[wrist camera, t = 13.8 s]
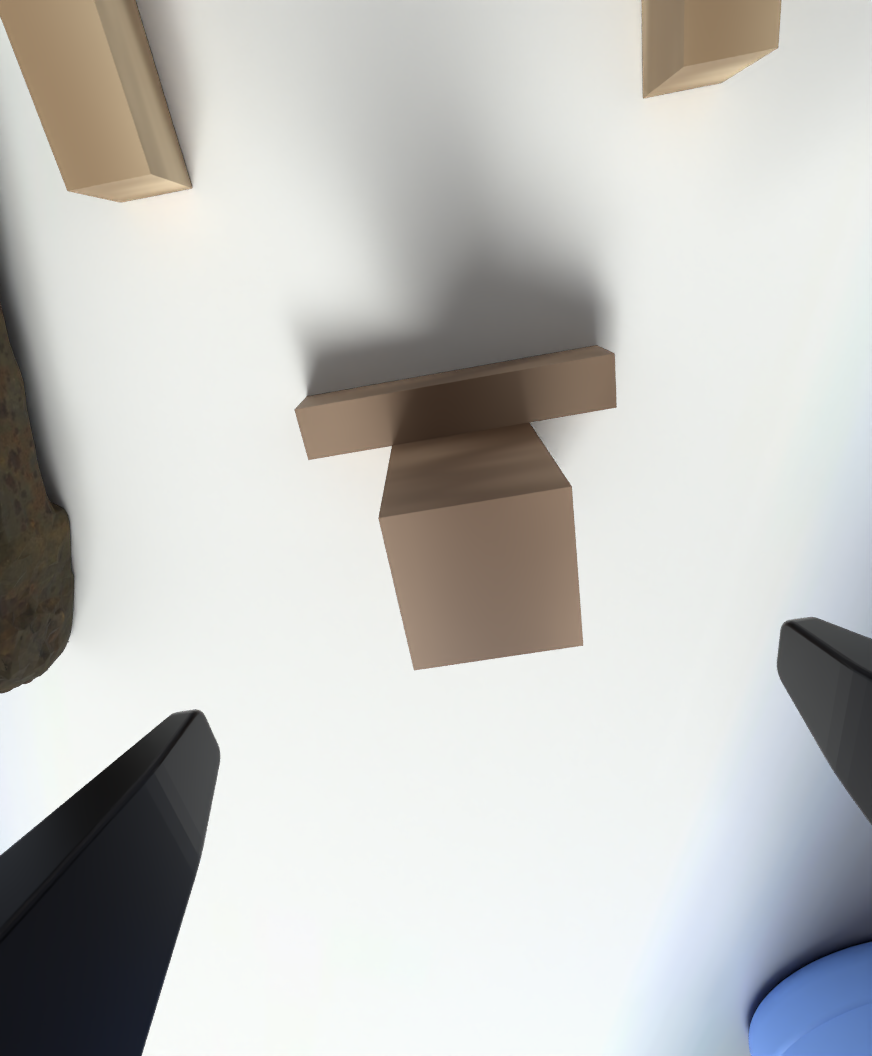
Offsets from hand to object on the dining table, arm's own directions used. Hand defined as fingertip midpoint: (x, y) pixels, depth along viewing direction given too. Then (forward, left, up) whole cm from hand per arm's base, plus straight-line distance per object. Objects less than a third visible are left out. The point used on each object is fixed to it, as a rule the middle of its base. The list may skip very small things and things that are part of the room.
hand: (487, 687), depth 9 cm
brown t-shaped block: (0, +1, -11) cm, 11 cm away
